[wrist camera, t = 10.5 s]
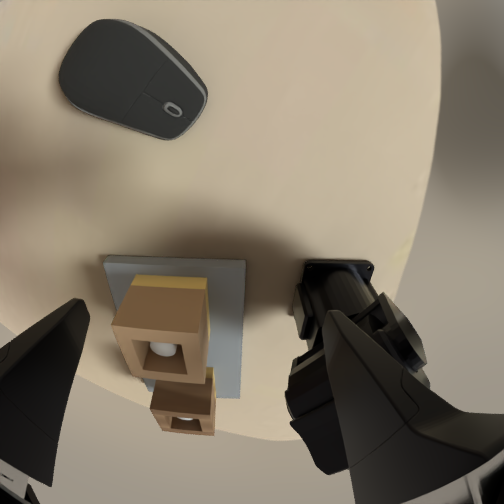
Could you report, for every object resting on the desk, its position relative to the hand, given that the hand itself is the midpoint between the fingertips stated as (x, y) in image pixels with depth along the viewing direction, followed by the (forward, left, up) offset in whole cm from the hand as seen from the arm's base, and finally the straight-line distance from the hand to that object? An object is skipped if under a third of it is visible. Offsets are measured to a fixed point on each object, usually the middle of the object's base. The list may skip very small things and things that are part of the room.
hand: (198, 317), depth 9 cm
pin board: (+4, +15, -12) cm, 20 cm away
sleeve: (+4, +21, -11) cm, 24 cm away
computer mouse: (+7, -9, -12) cm, 17 cm away
